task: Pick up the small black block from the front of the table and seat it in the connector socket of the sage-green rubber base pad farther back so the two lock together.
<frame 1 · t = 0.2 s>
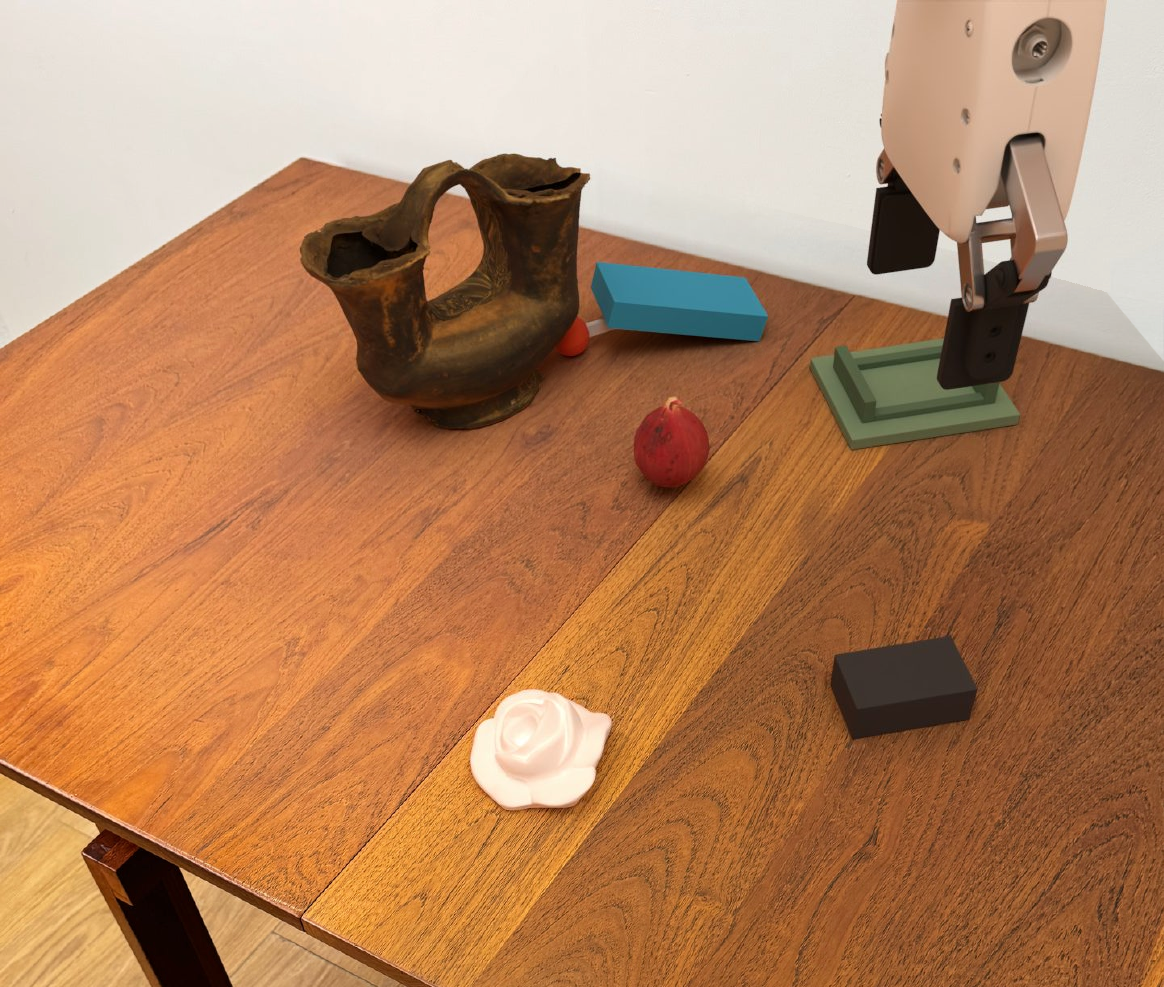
hand: (934, 322, 57), 31 cm above the table, tool pointing down, fingers open, 9 cm apart
lever: (655, 340, 113), on the table
black block: (898, 702, 84), on the table
rose: (545, 762, 82), on the table
base pad: (910, 395, 105), on the table
onion: (671, 488, 100), on the table
pottery vessel: (475, 399, 109), on the table
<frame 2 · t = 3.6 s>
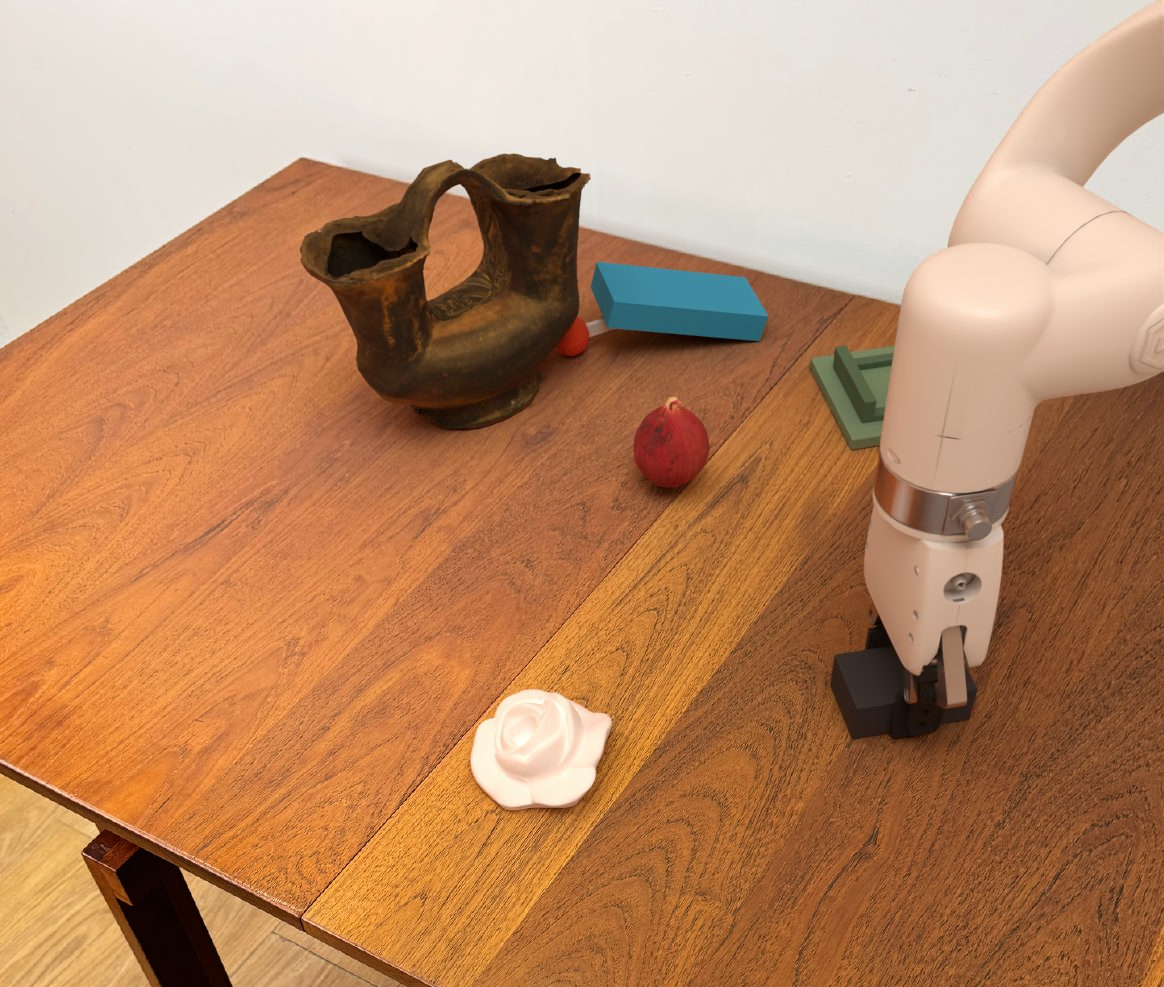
hand: (899, 698, 83), 0 cm above the table, tool pointing down, fingers closed on black block, 5 cm apart
black block: (898, 702, 84), on the table, touching gripper
everything else where it was.
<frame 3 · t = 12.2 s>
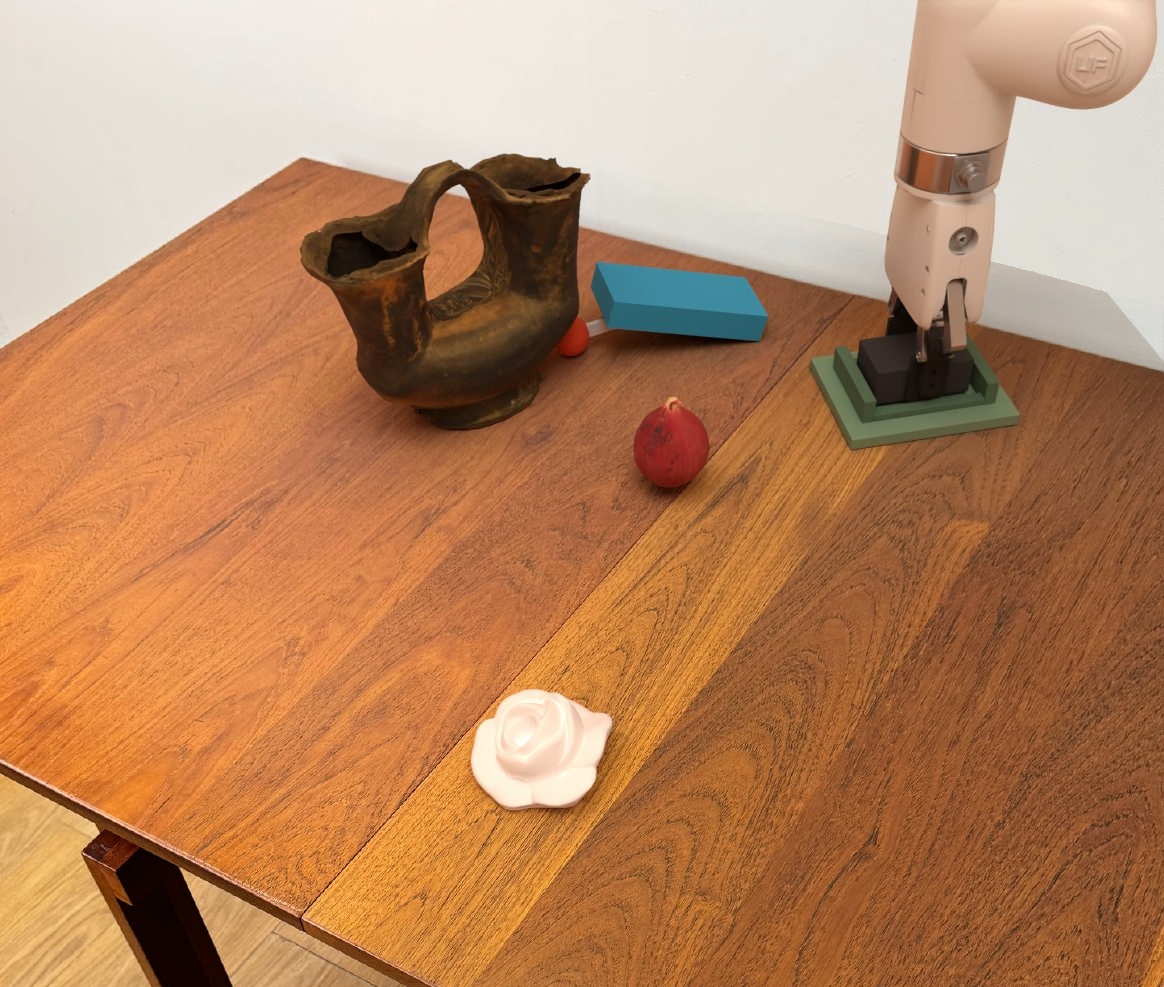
hand: (912, 376, 104), 2 cm above the table, tool pointing down, fingers closed on black block, 4 cm apart
black block: (910, 381, 104), point 1 cm above the table, touching gripper
everything else where it was.
when the fingers open (3 cm above the table, at t = 17.7 s): black block drops 1 cm, resting on base pad.
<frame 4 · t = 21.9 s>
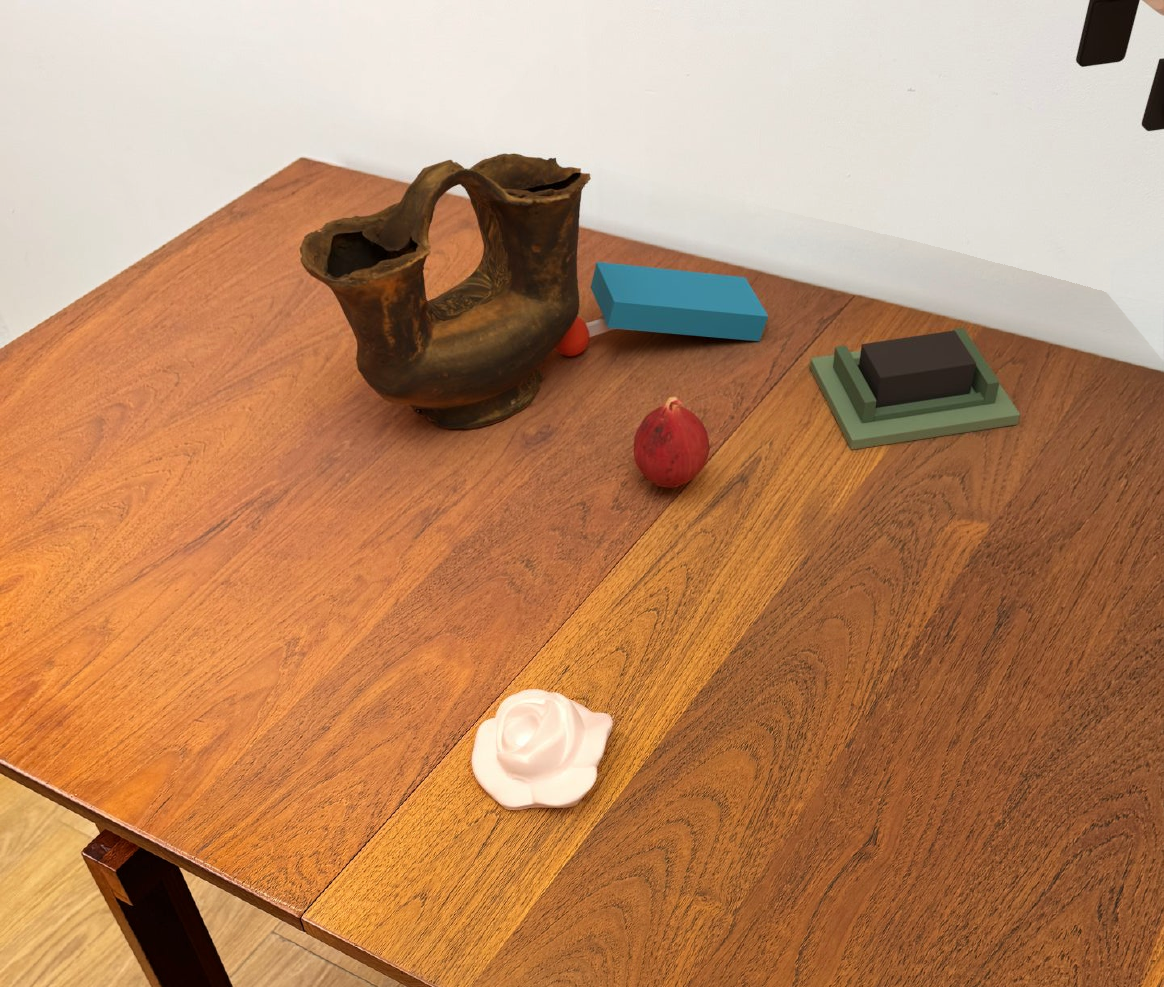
hand: (1131, 93, 80), 26 cm above the table, tool pointing down, fingers open, 9 cm apart
black block: (912, 385, 104), point 1 cm above the table, touching base pad
everything else where it was.
at the end: black block 0.0 cm off-centre on the base pad, point 1.0 cm above the base pad's base; black block tilted 0° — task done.
